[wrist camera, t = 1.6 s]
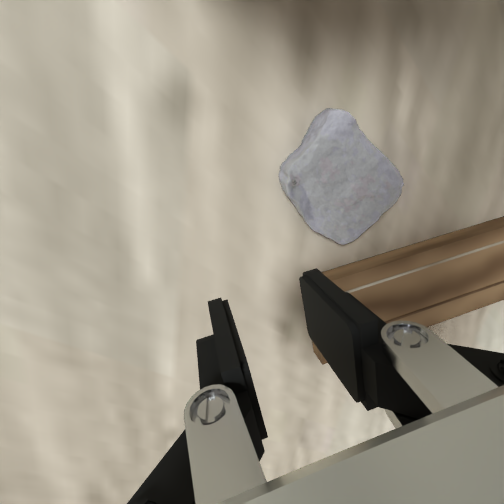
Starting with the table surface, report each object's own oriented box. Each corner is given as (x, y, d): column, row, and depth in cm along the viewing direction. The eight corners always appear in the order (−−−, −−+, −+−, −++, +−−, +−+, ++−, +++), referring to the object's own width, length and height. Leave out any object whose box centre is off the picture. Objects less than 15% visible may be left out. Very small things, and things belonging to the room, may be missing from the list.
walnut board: (302, 278, 34) (311, 287, 31) (523, 210, 38) (546, 214, 36) (313, 351, 38) (322, 365, 35) (512, 282, 42) (532, 289, 40)
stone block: (330, 241, 35) (395, 178, 32) (344, 259, 31) (420, 189, 28) (259, 178, 31) (325, 100, 28) (263, 189, 27) (343, 98, 24)
